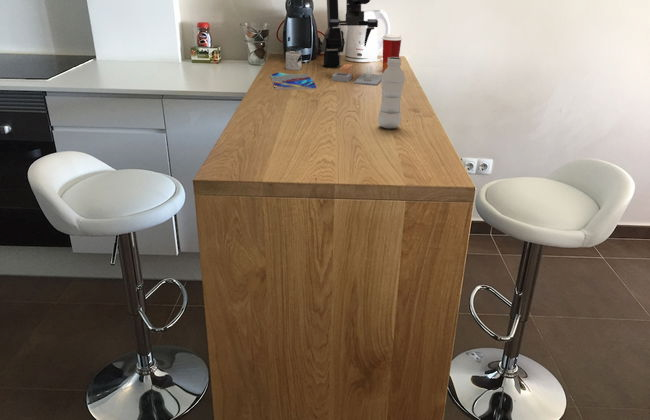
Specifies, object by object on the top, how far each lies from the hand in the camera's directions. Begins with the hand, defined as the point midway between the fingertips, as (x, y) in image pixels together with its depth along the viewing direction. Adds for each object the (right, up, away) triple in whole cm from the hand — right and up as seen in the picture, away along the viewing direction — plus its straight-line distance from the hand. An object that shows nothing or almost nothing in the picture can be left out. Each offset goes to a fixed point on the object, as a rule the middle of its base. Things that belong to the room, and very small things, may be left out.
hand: (353, 46), depth 226 cm
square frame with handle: (-3, -11, +4) cm, 13 cm away
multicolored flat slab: (-24, -16, -4) cm, 29 cm away
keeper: (+7, -13, +2) cm, 15 cm away
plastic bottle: (+8, -40, -58) cm, 71 cm away
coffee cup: (+16, -6, +18) cm, 25 cm away
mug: (-24, -4, +20) cm, 32 cm away
